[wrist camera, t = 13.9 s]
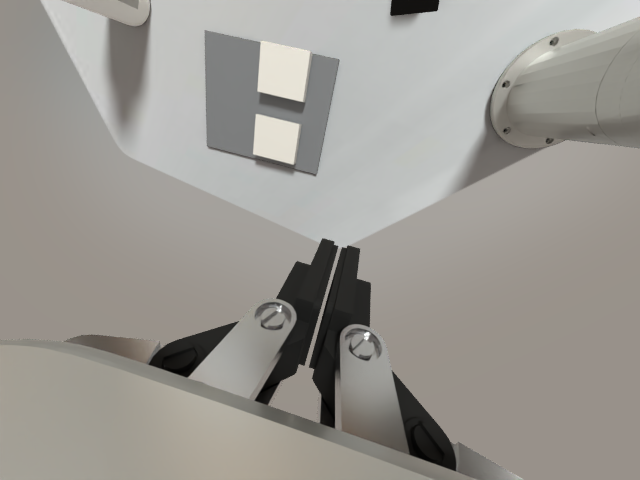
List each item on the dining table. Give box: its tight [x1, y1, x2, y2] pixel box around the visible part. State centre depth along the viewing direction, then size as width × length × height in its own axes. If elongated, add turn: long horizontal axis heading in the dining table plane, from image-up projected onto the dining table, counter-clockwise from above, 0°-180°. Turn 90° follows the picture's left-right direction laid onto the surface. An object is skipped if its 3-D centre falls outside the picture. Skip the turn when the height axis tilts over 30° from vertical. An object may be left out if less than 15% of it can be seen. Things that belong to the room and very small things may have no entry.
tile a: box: [257, 41, 313, 102], centre depth 35 cm, size 2×6×7 cm
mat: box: [205, 30, 339, 174], centre depth 38 cm, size 20×16×1 cm
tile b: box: [253, 114, 302, 165], centre depth 39 cm, size 2×6×7 cm
